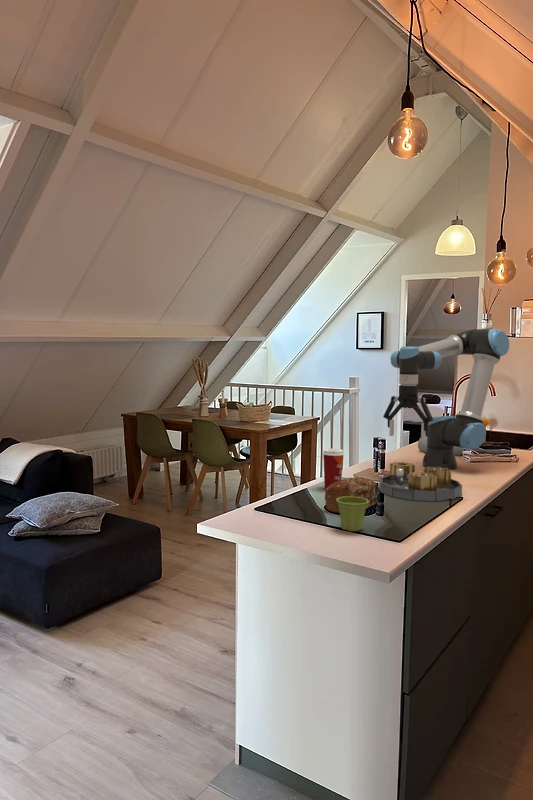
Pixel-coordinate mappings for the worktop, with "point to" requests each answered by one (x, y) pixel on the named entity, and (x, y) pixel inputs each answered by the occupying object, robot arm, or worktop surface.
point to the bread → (351, 491)
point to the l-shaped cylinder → (423, 447)
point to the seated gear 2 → (440, 475)
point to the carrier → (399, 489)
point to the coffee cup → (332, 466)
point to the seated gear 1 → (422, 481)
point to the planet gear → (406, 466)
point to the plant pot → (352, 512)
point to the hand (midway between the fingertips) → (407, 437)
